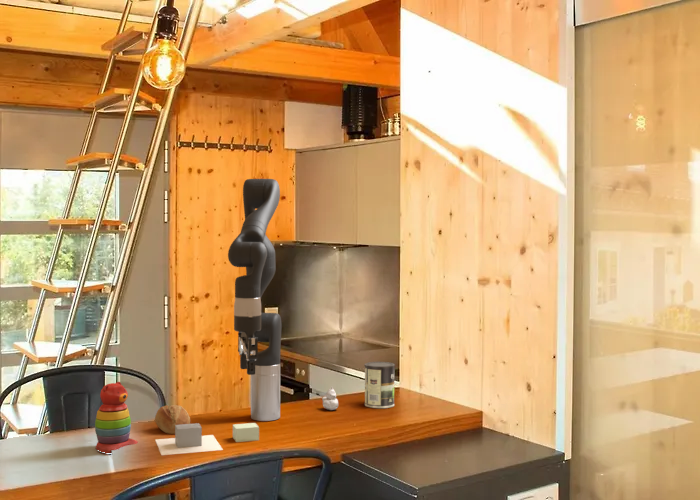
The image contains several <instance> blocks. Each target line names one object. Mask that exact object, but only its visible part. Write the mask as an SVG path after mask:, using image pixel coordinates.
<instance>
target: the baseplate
mask: <svg viewBox="0 0 700 500" xmlns="http://www.w3.org/2000/svg"><path fill="white" fill-rule="evenodd" d="M154 440H155V443H156V445H157V448H158V451H159V453H160V456H168V455H170V456H171V455H179V454H193V453H201V452H204V453H206V452H214V451H215V452H216V451H223V450H224V449H223V447H222V445H220V443H219V442H218V441H217V439H216V437H215V436H214V434H207V435H202V446H195V447H183V448H177V446H176V444H175V437H170V438H169V437H168V438H159V439H154Z"/></svg>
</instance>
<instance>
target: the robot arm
mask: <svg viewBox="0 0 700 500" xmlns="http://www.w3.org/2000/svg"><path fill="white" fill-rule="evenodd" d="M280 190H281V188H280V185H279V182H278V181H277V180H276V179H275V178H274V179H273V178H248V179H246V180H244V182H243V186H242V199H243V201H242V202H243V212H244V213H243V214H244V221H243V223H242V227H241V229H240V233H239V234H238V236H236V238H234V239H233V241H232V242H231V244H230V246H229V249H228V251H227V259H228V261H229V263H230V264H231V265H232V266H233V267H235V268H245V272H246V275H244V274H243V275H241V276H238V277H236V278H235V281H234V304H233V317H234V318H233V330H234V331H235V332H237V335H238V336H237V337H238V338H237V352H238V355H239V360H240V362H239V364H240V365H239V367H240V370H246V374H247V375H249V376H250V419H252V420H254V421H261V422H268V421H276V420H278V419H280V418H281V350H282V349H281V347H282V345H281V343H282V329H283V328H282V317H281V315H280V314H279V313H277V312H262V301H261V299H262V296H263V294H264V292H265V291H266V289H267V287H268V286H269V285H270V283H271V281H272V279H273V278H274V277H275V274H276V269H277V268H276V250H275V247H274V245H273V244H272V242H271V240H270V238H268V236H267V233H266V232H267V229H268V226H269V223H270V222H271V220H272V218H273V216H274V214H275V212H276V210H277V208H278V206H279V202H280V197H281V191H280ZM259 343H269V344H268V347H267V348H265V349H263V350H262V351H258V349H259V348H258V347H259V346H258V344H259Z"/></svg>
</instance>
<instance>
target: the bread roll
mask: <svg viewBox="0 0 700 500" xmlns="http://www.w3.org/2000/svg"><path fill="white" fill-rule="evenodd" d="M154 417H155V418H154V422H155V424H156V426H157V427H158V429H159V430H160V431H162V432H164V433H166V434H168V435H175V425H182V424H191V417H190V414H189V413H188V411H187V410H186V409H185V408H184V407H183V406H182V405H177V404H171V405H167V404H166V405H164V406H161V407H159V408H158V410H157V411H156V413H155V416H154Z"/></svg>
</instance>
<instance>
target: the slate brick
mask: <svg viewBox="0 0 700 500" xmlns="http://www.w3.org/2000/svg"><path fill="white" fill-rule="evenodd" d="M202 429H203V427H202V426H201V424H200V423H199V422H198V423H197V422H196V423H190V424H182V425H175V434H174V435H175V436H174V438H175V444H176V446H177V448H183V447H195V446H202V436H203V435H202V432H203V430H202Z"/></svg>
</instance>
